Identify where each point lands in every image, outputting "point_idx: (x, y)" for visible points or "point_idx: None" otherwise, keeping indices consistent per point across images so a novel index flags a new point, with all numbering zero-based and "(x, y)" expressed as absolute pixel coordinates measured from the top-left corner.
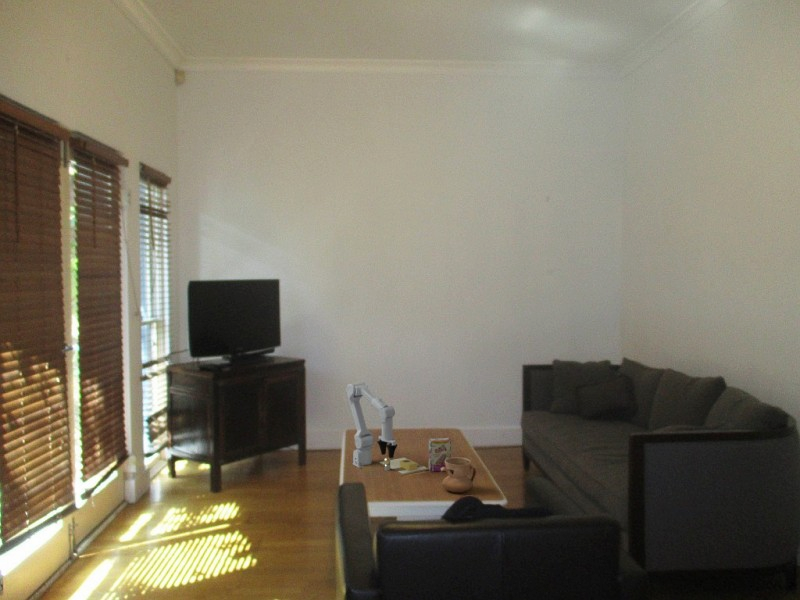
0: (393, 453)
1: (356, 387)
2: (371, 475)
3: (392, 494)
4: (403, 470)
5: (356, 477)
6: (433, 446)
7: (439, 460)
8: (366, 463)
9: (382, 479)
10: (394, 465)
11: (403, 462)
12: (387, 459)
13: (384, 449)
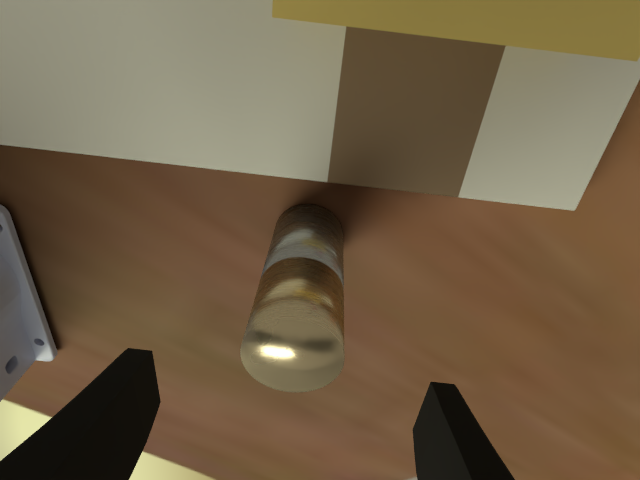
0: (496, 474)
1: None
2: None
3: None
4: (492, 110)
5: (282, 462)
6: None
7: None
8: (5, 311)
9: (469, 386)
10: (195, 55)
11: (422, 32)
12: (335, 373)
13: (94, 466)
